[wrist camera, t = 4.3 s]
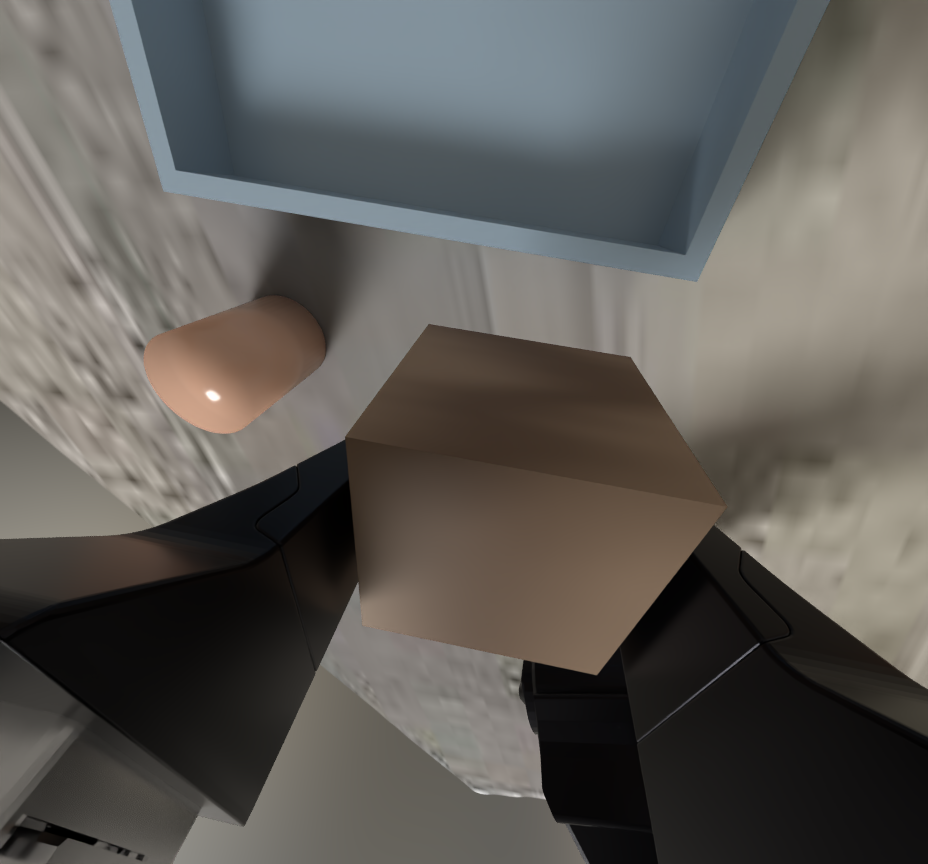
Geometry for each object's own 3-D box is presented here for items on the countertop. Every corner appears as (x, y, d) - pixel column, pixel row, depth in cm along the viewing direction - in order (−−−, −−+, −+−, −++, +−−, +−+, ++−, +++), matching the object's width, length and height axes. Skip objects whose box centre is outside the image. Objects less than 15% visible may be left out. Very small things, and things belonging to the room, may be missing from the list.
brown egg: (321, 303, 20) (239, 344, 14) (328, 381, 23) (262, 442, 17) (239, 288, 21) (125, 322, 15) (256, 367, 23) (166, 422, 17)
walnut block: (630, 357, 9) (726, 507, 4) (570, 502, 11) (596, 675, 7) (428, 324, 9) (344, 437, 5) (419, 474, 12) (362, 625, 8)
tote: (897, -302, 9) (1107, -585, 6) (663, 265, 17) (697, 281, 13) (121, -369, 10) (-73, -641, 7) (231, 193, 18) (163, 191, 14)
